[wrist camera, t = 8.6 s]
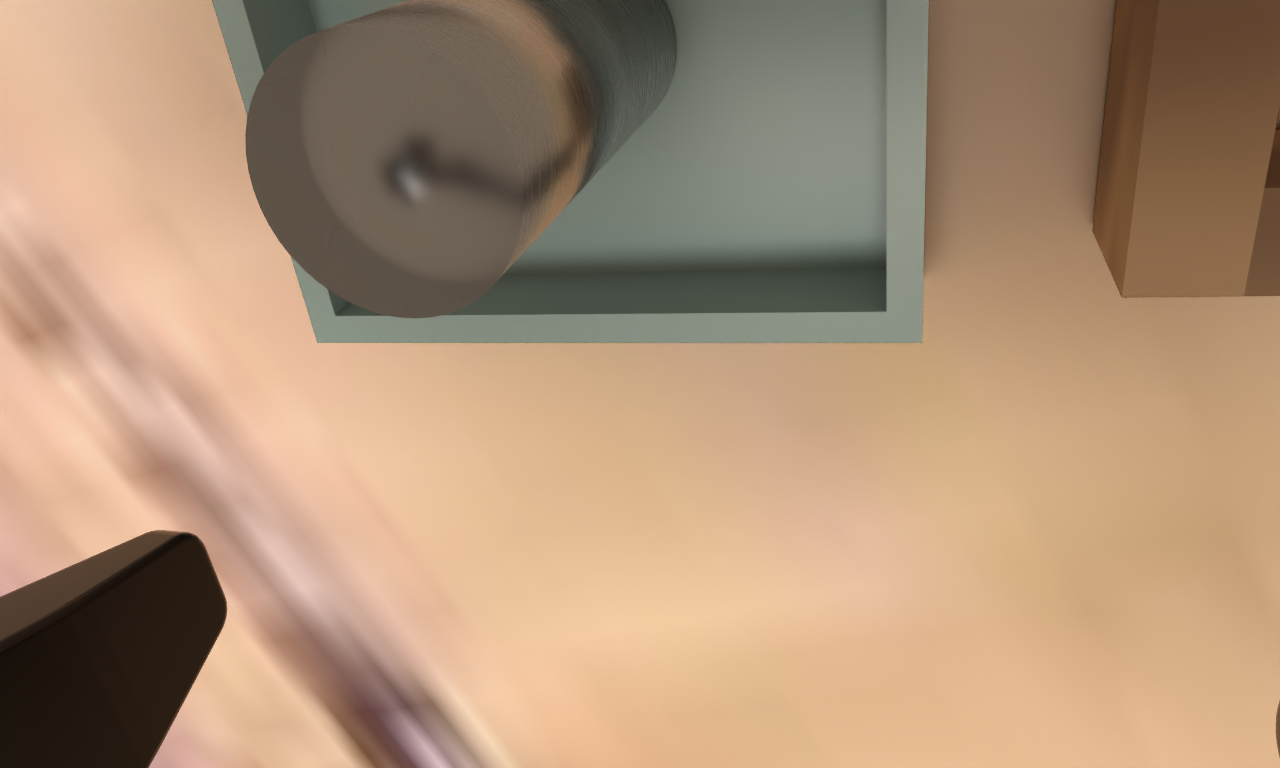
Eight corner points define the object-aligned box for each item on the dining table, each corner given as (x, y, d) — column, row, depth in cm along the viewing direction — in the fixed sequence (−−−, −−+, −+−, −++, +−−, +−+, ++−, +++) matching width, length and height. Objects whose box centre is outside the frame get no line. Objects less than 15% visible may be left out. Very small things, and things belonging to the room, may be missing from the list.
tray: (921, 283, 19) (922, 342, 17) (375, 291, 22) (317, 342, 20) (932, -341, 14) (936, -371, 12) (239, -217, 18) (143, -223, 15)
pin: (686, 133, 18) (545, 318, 11) (516, 143, 19) (294, 318, 12) (665, -66, 16) (490, 11, 10) (482, -45, 17) (205, 39, 11)
